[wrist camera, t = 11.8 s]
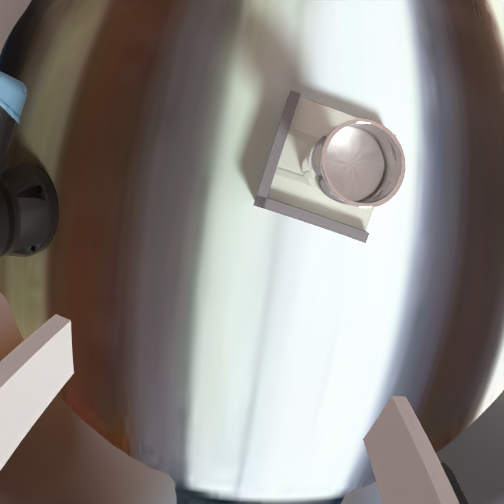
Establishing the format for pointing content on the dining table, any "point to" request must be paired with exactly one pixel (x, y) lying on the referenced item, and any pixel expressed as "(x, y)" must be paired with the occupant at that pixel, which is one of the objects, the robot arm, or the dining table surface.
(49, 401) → the robot arm
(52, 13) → the dining table surface
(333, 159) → the beer glass
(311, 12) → the dining table surface
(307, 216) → the dock
